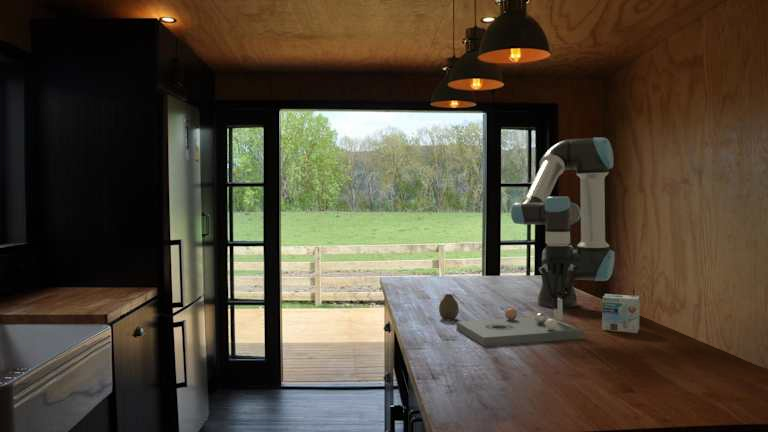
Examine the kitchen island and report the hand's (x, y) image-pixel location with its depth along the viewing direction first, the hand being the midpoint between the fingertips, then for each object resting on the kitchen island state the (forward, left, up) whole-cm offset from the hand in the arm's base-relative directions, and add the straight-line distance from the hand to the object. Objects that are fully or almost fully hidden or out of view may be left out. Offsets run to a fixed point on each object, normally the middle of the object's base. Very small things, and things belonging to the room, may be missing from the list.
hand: (558, 318), depth 182 cm
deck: (+14, 0, -4) cm, 15 cm away
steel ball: (+6, 0, 0) cm, 6 cm away
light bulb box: (-20, +4, -4) cm, 21 cm away
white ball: (+7, +8, 0) cm, 11 cm away
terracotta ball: (+12, -9, +1) cm, 15 cm away
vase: (+27, -27, -4) cm, 39 cm away
